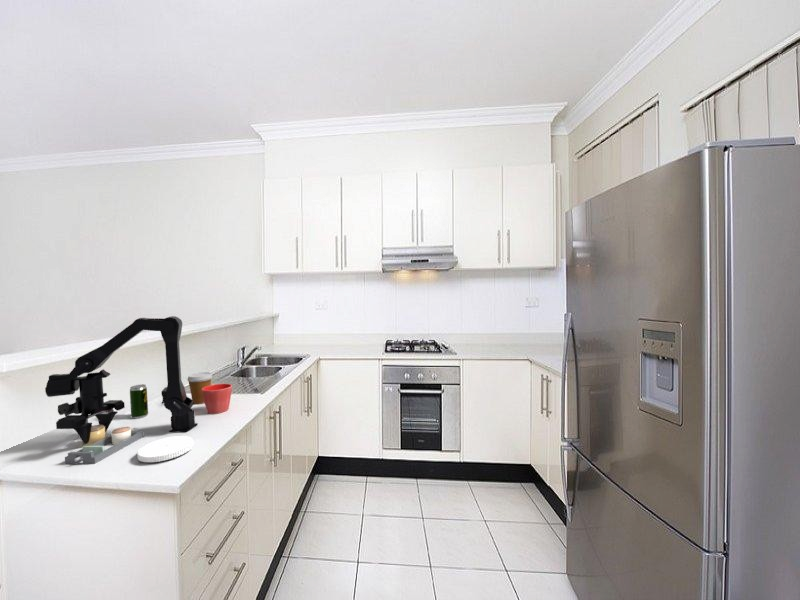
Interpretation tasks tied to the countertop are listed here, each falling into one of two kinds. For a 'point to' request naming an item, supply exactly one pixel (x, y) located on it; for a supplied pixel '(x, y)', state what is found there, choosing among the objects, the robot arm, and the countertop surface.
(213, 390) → the flower pot
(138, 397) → the beer can
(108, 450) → the lane
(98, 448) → the pusher
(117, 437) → the cream jar
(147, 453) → the plastic lid
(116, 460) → the countertop surface
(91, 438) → the amber jar
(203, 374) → the disposable coffee cup
